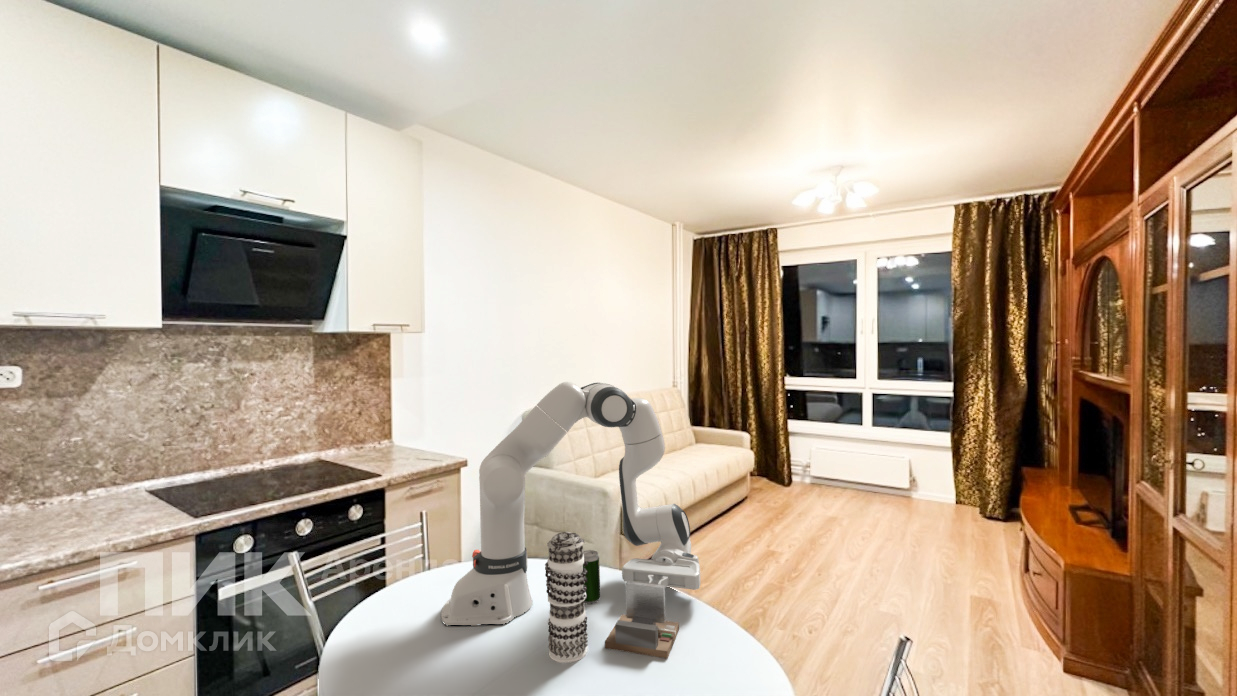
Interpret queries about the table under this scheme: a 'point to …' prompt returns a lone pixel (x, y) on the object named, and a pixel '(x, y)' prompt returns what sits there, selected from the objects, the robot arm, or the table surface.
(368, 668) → the table surface
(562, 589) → the decorative candle
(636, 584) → the brushed metal plate
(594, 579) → the green soda can
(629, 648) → the base
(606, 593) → the table surface
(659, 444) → the robot arm
